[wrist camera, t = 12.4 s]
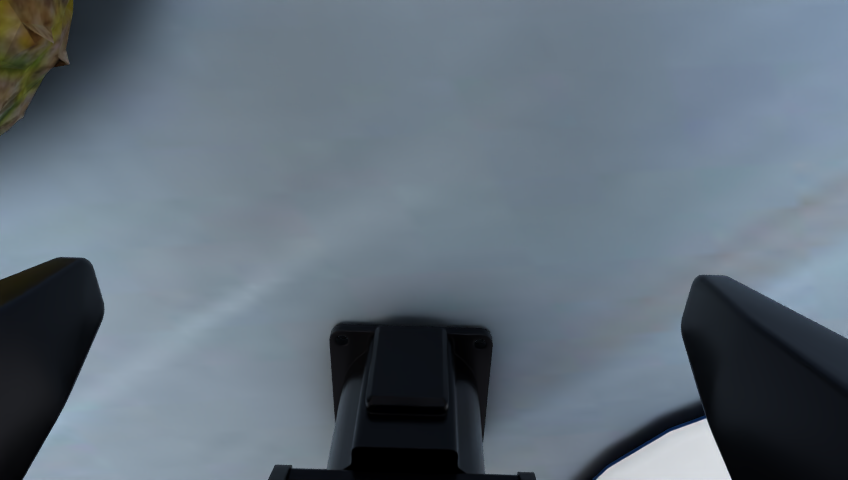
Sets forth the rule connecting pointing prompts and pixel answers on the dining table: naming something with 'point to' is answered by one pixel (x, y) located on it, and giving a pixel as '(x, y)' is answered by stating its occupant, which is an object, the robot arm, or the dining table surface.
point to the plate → (672, 457)
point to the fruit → (29, 51)
